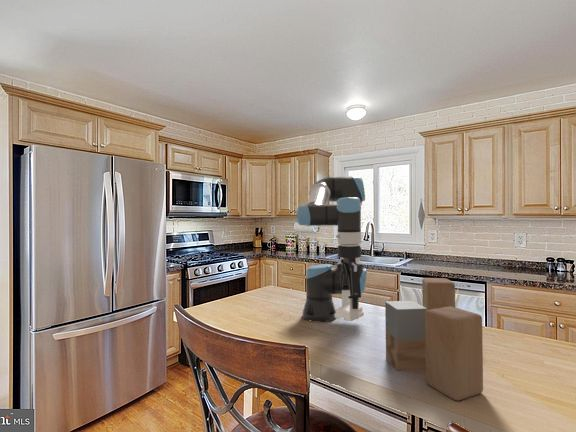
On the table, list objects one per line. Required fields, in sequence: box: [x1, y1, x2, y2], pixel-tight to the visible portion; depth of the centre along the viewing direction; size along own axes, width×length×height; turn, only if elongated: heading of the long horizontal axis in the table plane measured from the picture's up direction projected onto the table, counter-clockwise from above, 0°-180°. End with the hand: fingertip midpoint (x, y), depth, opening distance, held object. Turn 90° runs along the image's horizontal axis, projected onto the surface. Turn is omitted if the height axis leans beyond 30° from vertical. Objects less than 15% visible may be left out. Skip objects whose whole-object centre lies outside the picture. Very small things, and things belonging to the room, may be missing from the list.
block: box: [425, 306, 484, 402], centre depth 84 cm, size 10×10×20 cm
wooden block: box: [421, 277, 456, 310], centre depth 127 cm, size 10×10×20 cm
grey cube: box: [384, 300, 427, 341], centre depth 99 cm, size 9×9×9 cm
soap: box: [335, 304, 365, 322], centre depth 106 cm, size 9×7×3 cm
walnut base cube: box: [385, 330, 426, 373], centre depth 99 cm, size 9×9×9 cm
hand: (350, 313), depth 106 cm, fingers closed on soap, 9 cm apart
